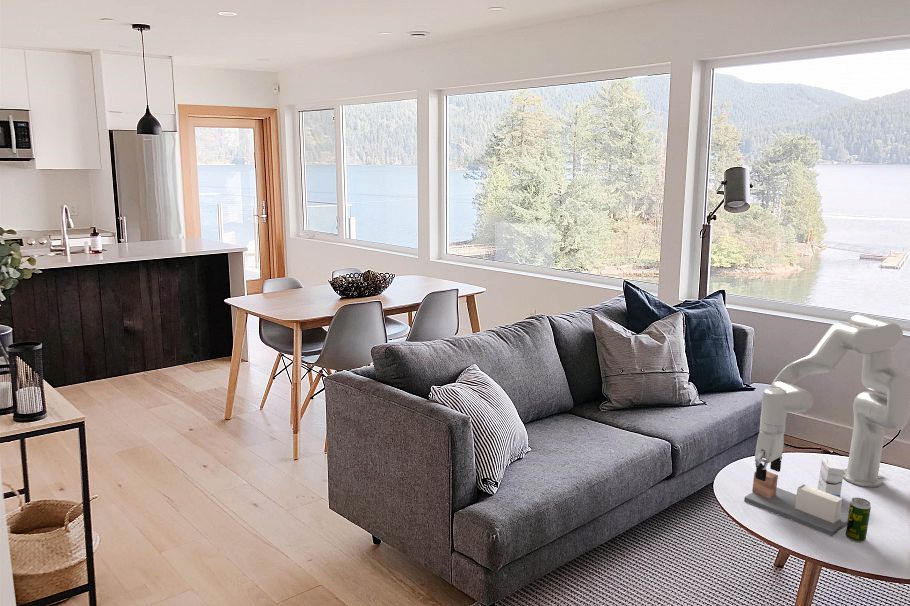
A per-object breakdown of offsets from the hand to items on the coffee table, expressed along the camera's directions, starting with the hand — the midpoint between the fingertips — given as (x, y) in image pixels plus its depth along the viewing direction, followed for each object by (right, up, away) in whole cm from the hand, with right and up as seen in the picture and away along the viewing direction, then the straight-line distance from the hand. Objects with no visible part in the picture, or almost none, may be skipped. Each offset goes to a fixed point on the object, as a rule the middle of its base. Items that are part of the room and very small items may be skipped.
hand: (767, 474), depth 243 cm
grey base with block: (+6, -10, -7) cm, 14 cm away
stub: (-1, -6, +1) cm, 7 cm away
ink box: (+21, -8, +3) cm, 23 cm away
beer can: (+16, -14, -23) cm, 31 cm away
